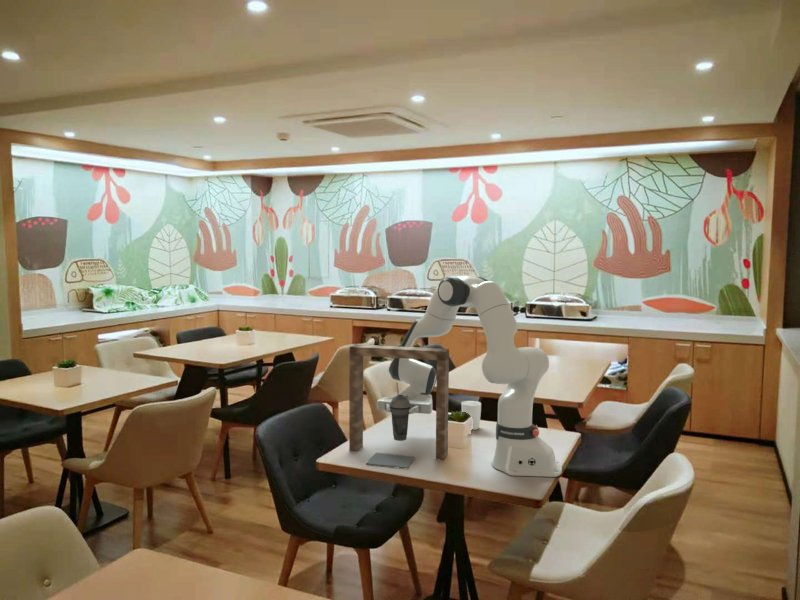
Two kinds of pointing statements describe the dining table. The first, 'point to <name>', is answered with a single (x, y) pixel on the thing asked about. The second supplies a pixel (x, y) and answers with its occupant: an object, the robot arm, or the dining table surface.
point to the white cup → (472, 411)
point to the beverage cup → (400, 416)
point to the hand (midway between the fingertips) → (399, 410)
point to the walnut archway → (397, 352)
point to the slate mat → (391, 460)
